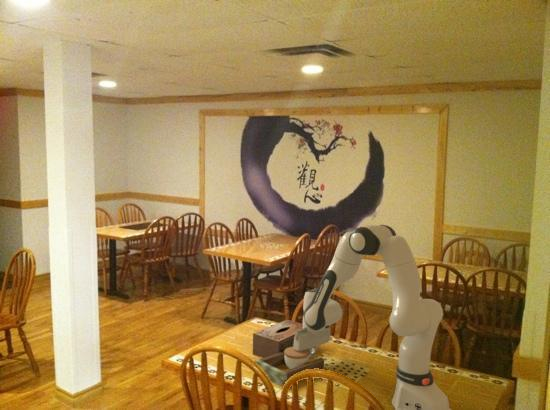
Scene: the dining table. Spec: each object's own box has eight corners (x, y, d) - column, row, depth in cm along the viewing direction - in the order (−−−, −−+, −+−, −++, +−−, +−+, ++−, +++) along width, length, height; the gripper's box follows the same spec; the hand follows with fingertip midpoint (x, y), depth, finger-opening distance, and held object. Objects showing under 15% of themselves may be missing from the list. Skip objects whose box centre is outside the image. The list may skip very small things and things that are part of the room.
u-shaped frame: (323, 370, 210) (324, 359, 209) (282, 387, 194) (283, 374, 193) (295, 357, 222) (295, 346, 222) (254, 372, 206) (255, 360, 205)
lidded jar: (280, 365, 214) (280, 344, 213) (302, 362, 218) (303, 341, 217) (289, 375, 204) (290, 353, 203) (313, 372, 208) (313, 351, 207)
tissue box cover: (286, 339, 245) (286, 319, 244) (310, 346, 236) (311, 326, 235) (252, 354, 225) (253, 333, 224) (277, 363, 216) (278, 341, 215)
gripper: (301, 332, 206) (299, 364, 207) (333, 322, 220) (332, 352, 221) (290, 328, 211) (289, 359, 212) (322, 319, 224) (321, 348, 226)
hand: (311, 356), depth 217 cm, fingers closed
